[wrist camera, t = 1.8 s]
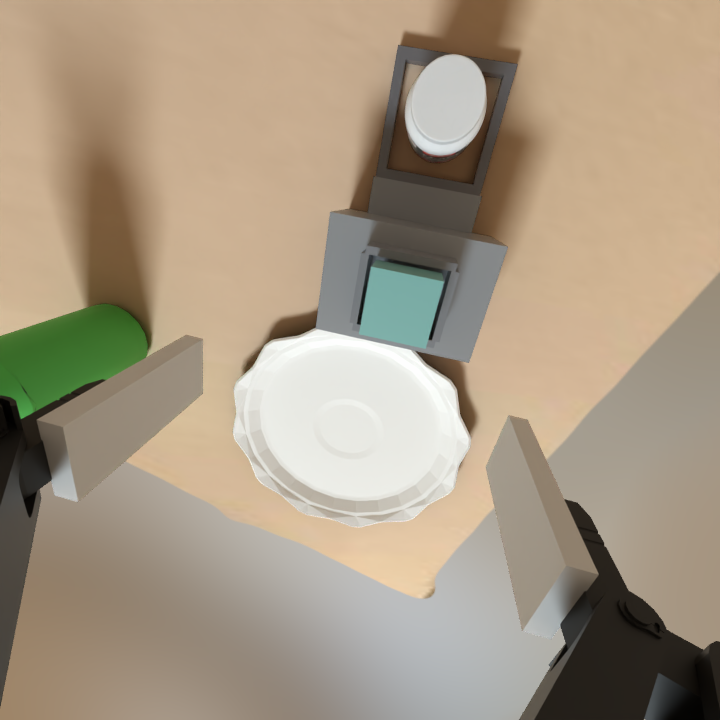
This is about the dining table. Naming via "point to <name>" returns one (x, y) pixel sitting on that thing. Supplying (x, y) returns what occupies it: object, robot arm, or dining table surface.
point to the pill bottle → (445, 108)
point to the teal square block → (400, 303)
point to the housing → (418, 234)
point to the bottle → (68, 354)
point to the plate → (350, 427)
